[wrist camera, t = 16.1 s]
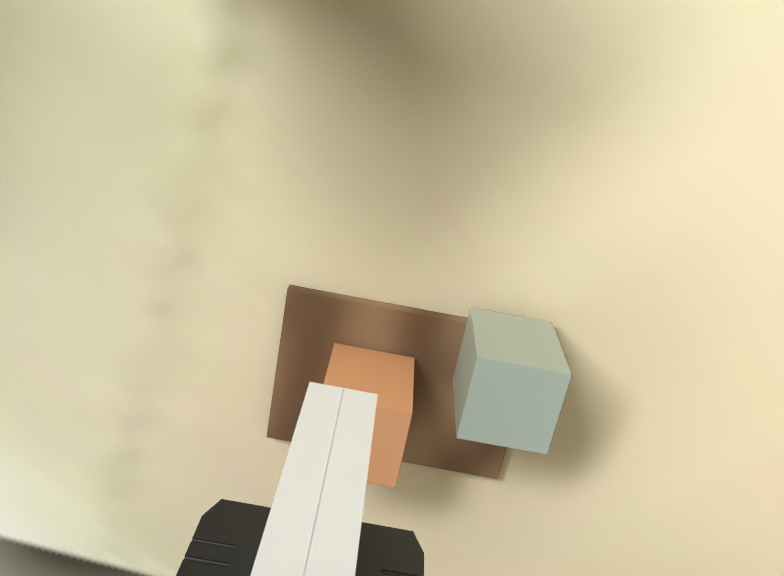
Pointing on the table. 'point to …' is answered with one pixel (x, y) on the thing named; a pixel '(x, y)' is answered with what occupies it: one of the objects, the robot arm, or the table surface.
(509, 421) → the pale blue-grey block
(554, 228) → the table surface
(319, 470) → the robot arm
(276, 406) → the stand
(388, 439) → the orange block
